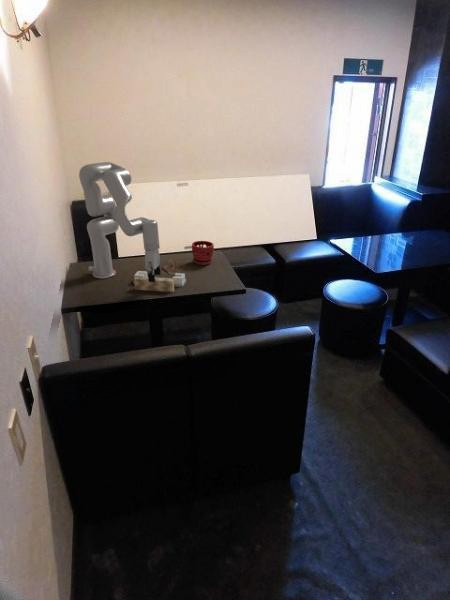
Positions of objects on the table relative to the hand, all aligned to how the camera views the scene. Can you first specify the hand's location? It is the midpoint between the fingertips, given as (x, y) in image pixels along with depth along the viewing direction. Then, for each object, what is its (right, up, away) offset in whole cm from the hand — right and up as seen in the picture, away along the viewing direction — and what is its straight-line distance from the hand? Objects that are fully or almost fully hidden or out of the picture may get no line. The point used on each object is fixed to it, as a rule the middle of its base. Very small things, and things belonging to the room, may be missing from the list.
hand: (154, 278), depth 207 cm
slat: (-1, -6, +3) cm, 7 cm away
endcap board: (+1, -2, +12) cm, 12 cm away
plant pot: (+22, +11, +41) cm, 48 cm away
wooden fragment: (+4, +8, +34) cm, 35 cm away
